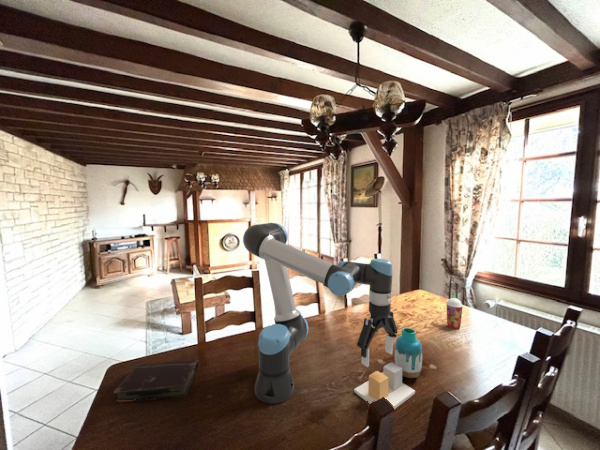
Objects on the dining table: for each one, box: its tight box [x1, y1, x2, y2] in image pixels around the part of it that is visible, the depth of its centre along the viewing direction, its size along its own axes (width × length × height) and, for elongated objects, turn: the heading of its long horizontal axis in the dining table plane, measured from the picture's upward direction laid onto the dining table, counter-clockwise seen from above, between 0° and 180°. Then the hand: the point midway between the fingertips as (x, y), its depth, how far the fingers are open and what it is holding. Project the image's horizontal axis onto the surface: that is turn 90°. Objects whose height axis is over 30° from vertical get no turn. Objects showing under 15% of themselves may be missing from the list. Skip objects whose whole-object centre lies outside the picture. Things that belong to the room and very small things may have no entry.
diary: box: [112, 359, 200, 404], centre depth 103 cm, size 19×25×5 cm
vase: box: [394, 327, 423, 379], centre depth 108 cm, size 11×11×19 cm
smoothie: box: [446, 293, 464, 330], centre depth 151 cm, size 8×8×20 cm
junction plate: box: [353, 361, 416, 409], centre depth 98 cm, size 18×14×8 cm
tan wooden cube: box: [368, 370, 389, 400], centre depth 95 cm, size 5×5×7 cm
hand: (377, 358), depth 95 cm, fingers open, 13 cm apart
